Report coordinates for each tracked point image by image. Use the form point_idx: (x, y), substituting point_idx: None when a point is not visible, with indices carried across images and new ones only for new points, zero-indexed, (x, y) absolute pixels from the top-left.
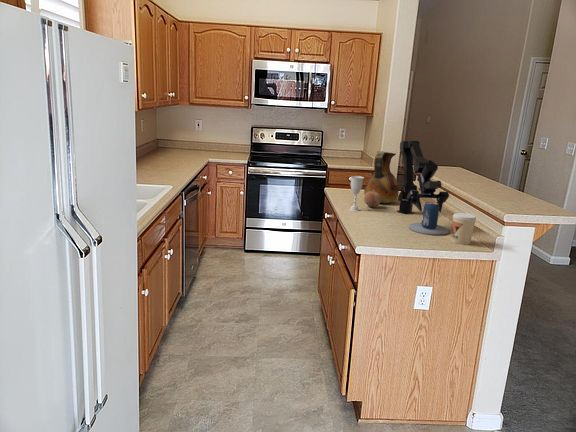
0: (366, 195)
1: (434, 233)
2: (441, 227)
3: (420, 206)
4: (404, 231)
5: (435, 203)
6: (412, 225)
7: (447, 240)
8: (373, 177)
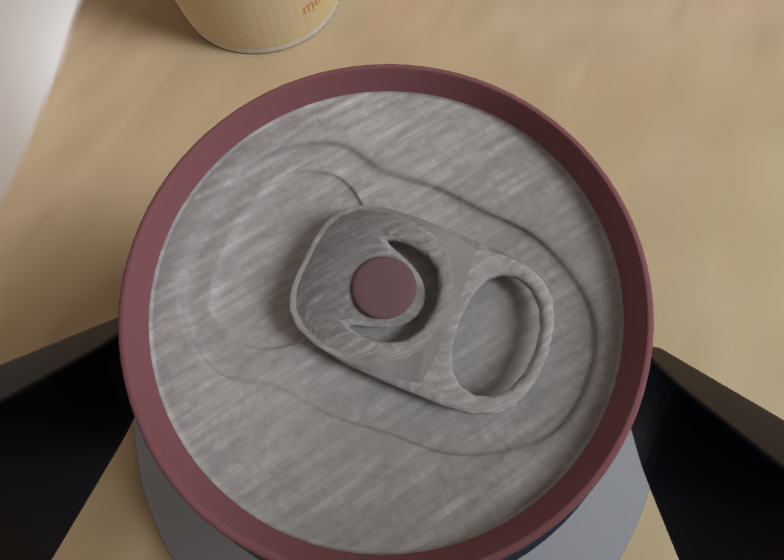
0: None
1: None
2: None
3: (737, 409)
4: (737, 304)
5: (196, 354)
6: (594, 505)
7: (366, 24)
8: None
